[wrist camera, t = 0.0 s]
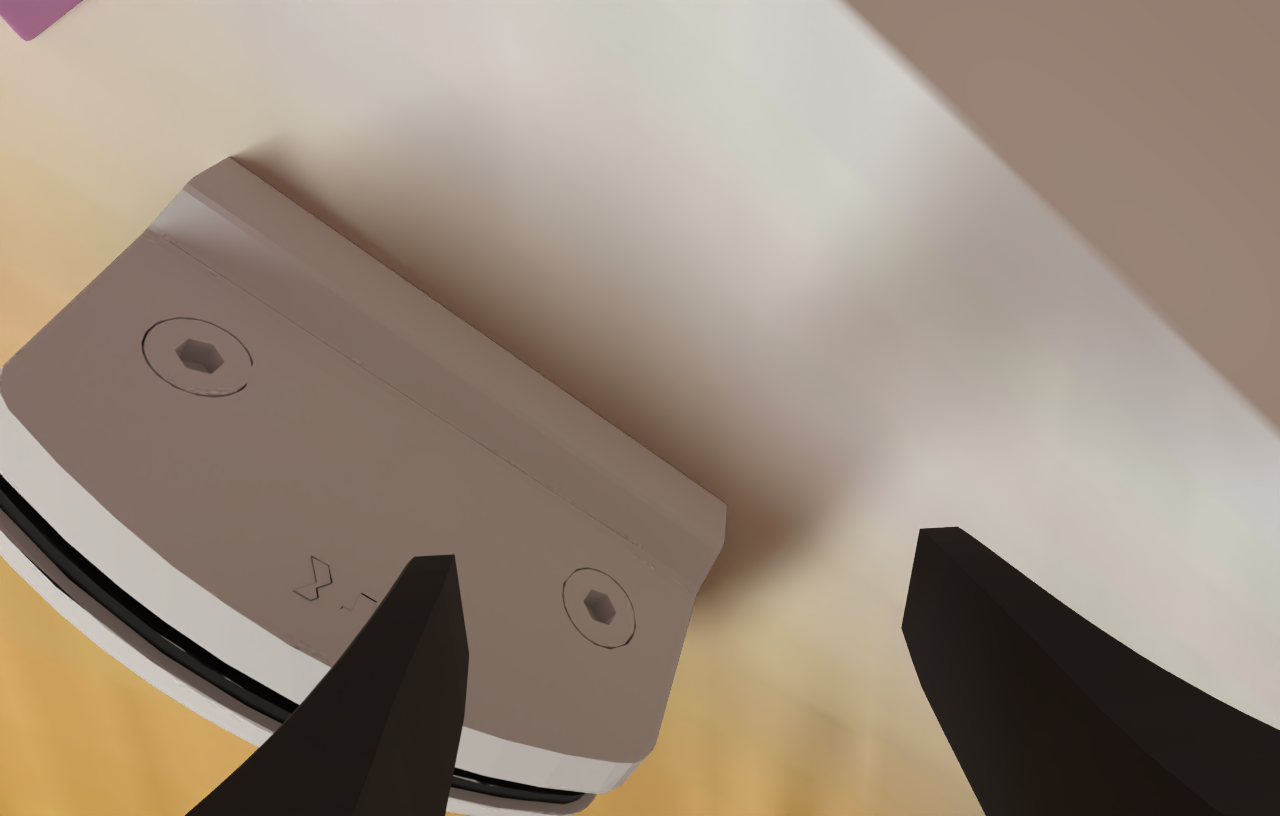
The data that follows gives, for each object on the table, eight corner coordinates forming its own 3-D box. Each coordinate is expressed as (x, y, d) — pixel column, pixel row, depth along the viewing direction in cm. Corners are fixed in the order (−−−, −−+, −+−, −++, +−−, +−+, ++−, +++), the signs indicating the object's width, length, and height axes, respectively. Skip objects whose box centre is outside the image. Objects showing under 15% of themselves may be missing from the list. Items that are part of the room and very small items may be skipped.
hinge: (738, 512, 24) (716, 853, 16) (640, 592, 27) (579, 923, 19) (213, 145, 20) (-172, 357, 12) (155, 280, 23) (-198, 531, 14)
